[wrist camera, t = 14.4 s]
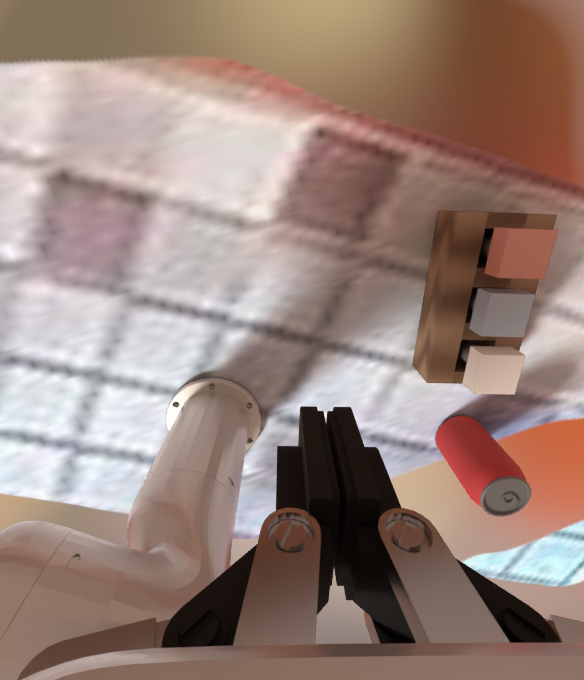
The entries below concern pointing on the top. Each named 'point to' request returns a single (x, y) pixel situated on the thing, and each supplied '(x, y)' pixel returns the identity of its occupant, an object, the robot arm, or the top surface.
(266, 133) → the top surface
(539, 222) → the walnut console
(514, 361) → the white key
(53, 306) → the top surface
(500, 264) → the brick-red key
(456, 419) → the beer can
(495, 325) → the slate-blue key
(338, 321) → the top surface
